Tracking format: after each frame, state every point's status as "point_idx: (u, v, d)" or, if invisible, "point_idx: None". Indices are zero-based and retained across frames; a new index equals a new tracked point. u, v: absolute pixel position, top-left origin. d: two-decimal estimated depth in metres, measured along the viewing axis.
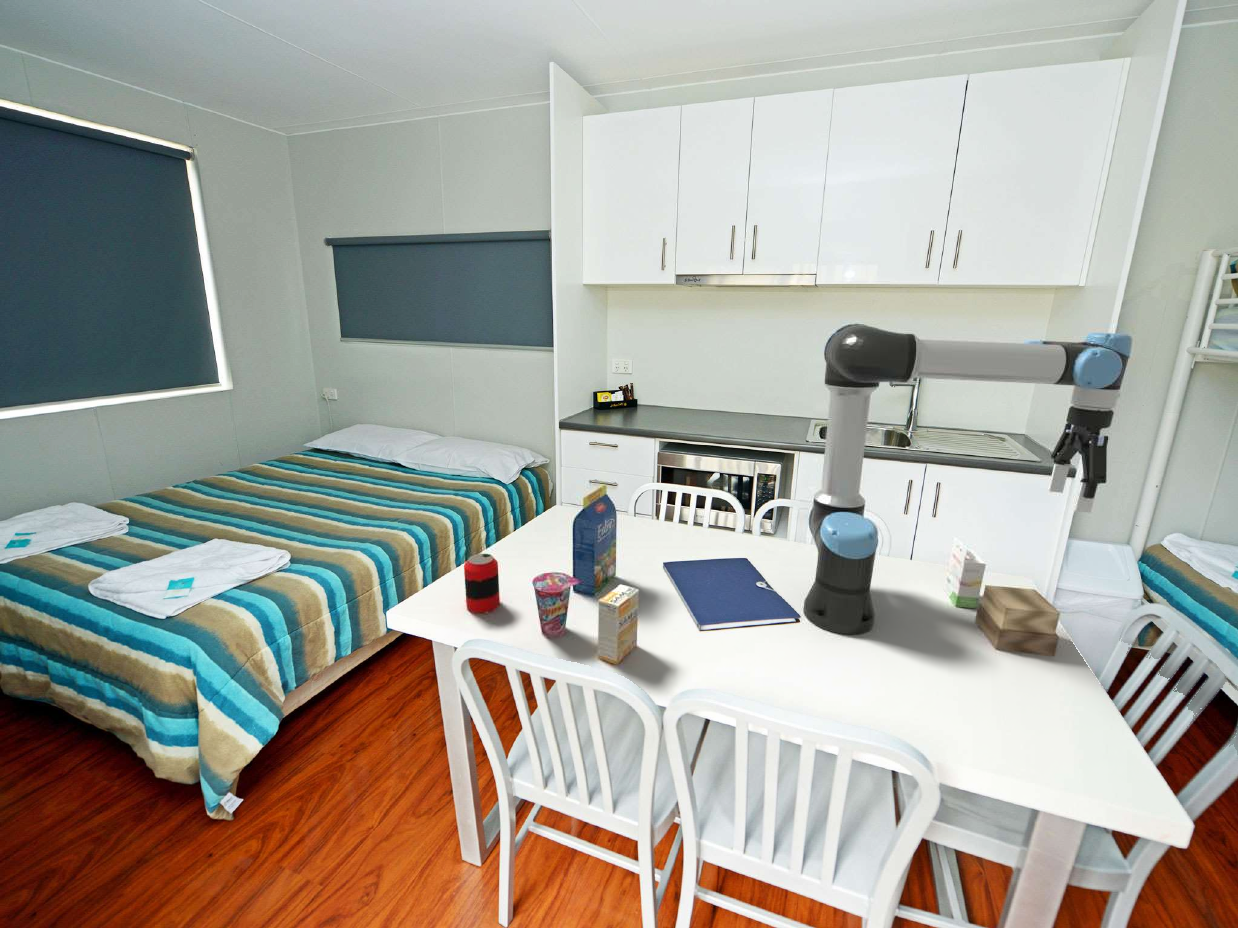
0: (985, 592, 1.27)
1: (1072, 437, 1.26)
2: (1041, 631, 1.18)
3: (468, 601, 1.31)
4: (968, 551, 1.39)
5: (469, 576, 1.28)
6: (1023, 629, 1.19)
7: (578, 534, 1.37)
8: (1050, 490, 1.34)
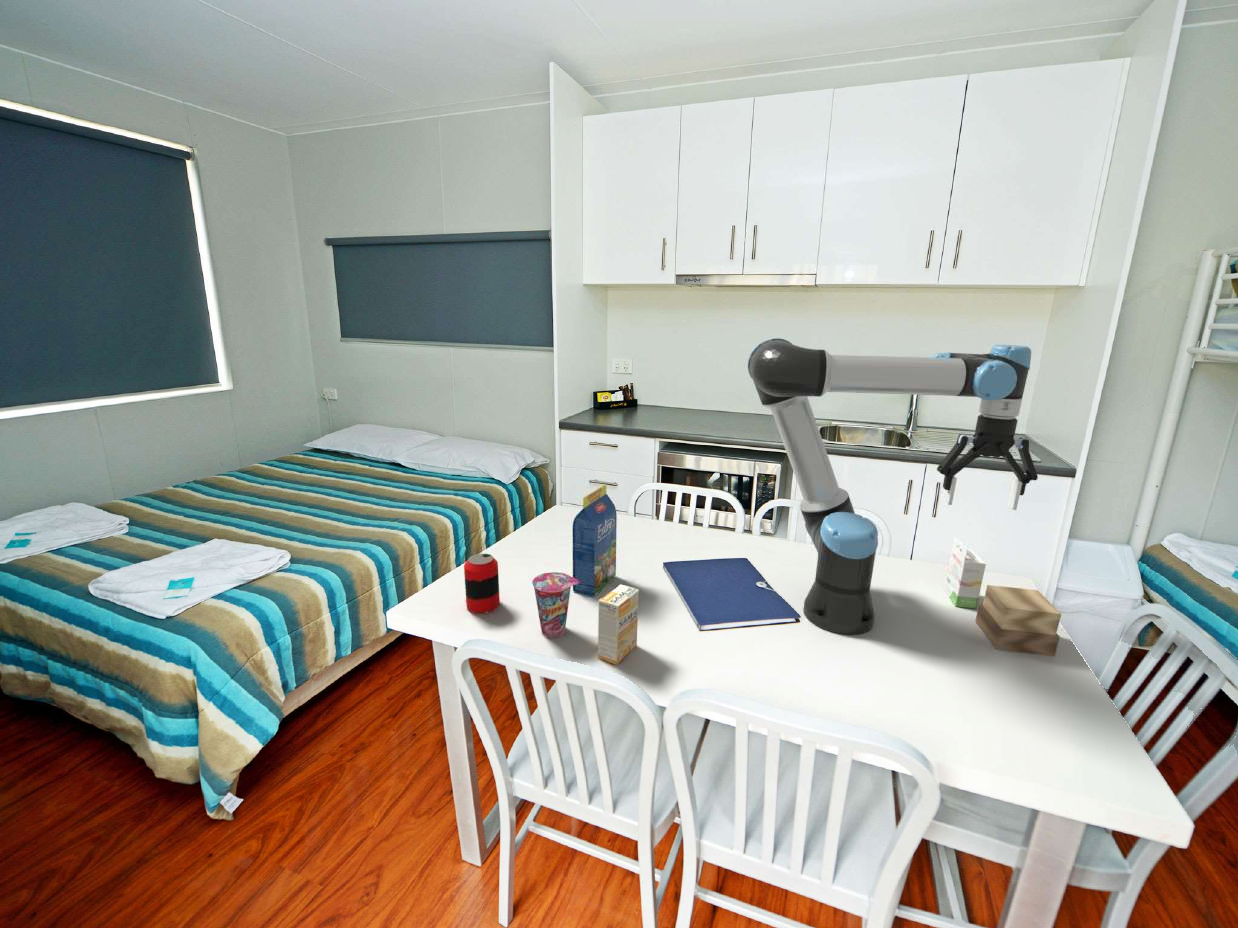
0: (987, 592, 1.27)
1: None
2: (1042, 632, 1.18)
3: (468, 601, 1.31)
4: (968, 551, 1.39)
5: (469, 576, 1.28)
6: (1024, 629, 1.18)
7: (578, 534, 1.37)
8: (1008, 504, 1.33)
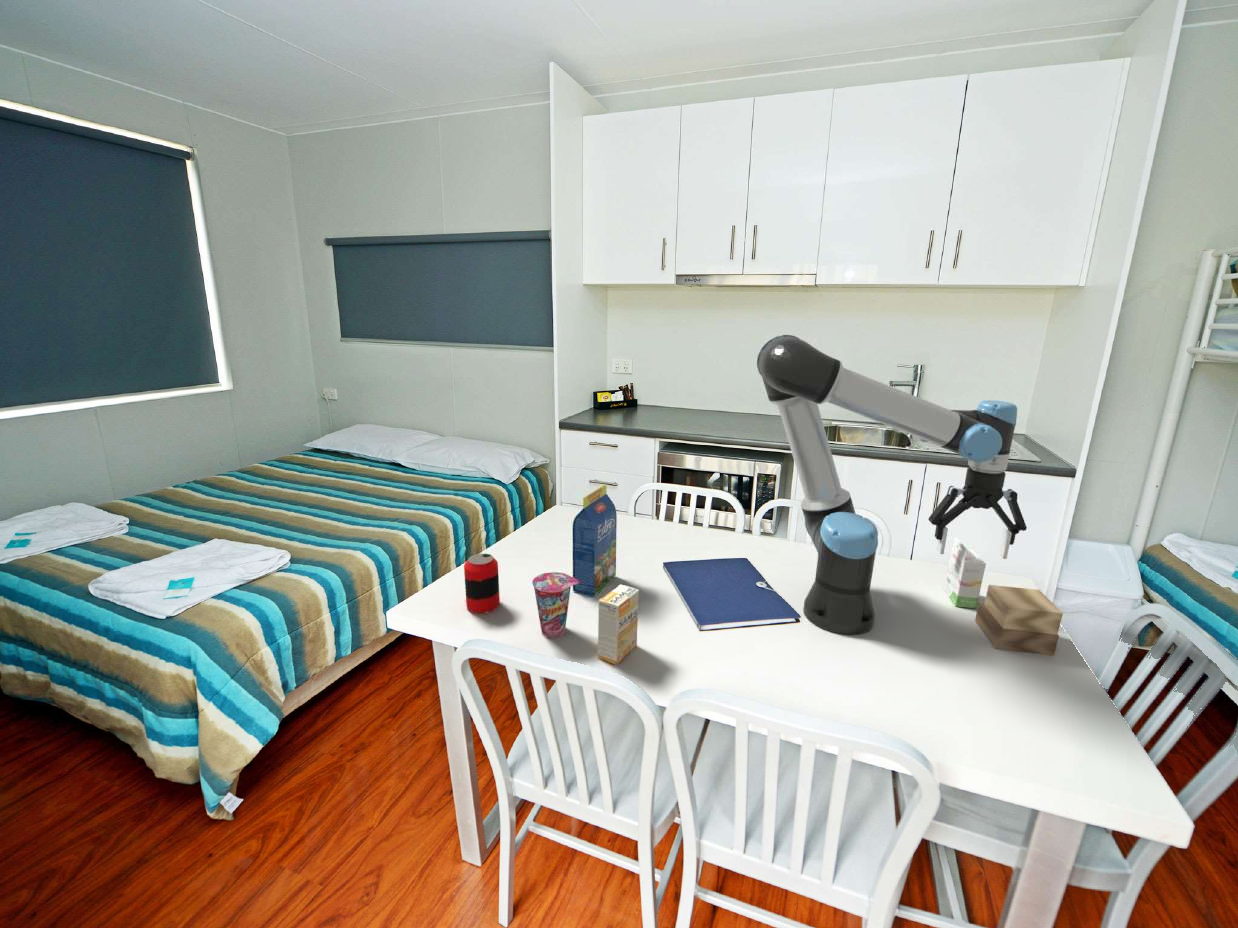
0: (988, 592, 1.27)
1: None
2: (1043, 631, 1.18)
3: (468, 601, 1.31)
4: (968, 551, 1.39)
5: (469, 576, 1.28)
6: (1025, 629, 1.18)
7: (578, 534, 1.37)
8: (998, 553, 1.37)
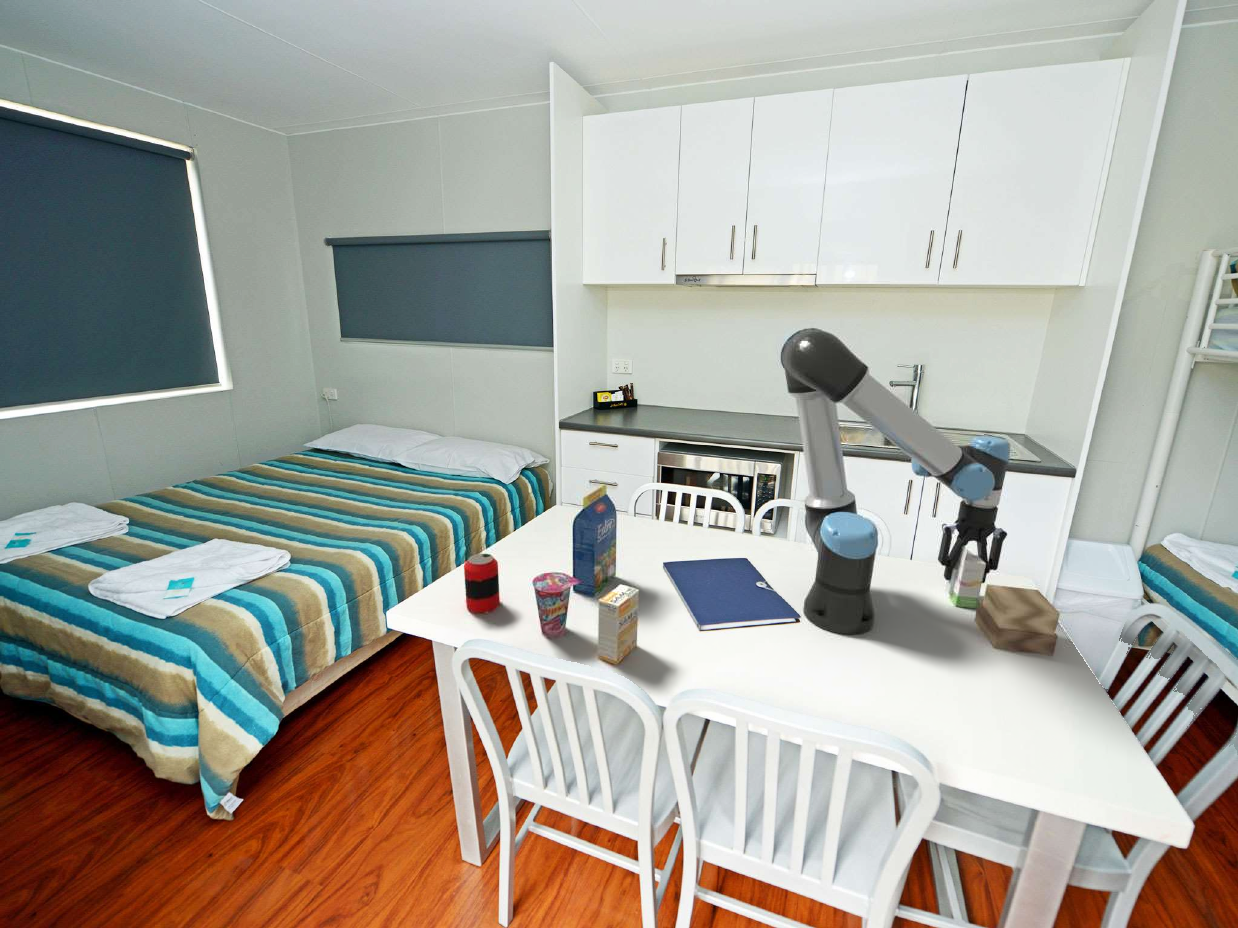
0: (986, 591, 1.27)
1: None
2: (1040, 631, 1.18)
3: (468, 601, 1.31)
4: (968, 551, 1.39)
5: (469, 576, 1.28)
6: (1022, 628, 1.19)
7: (578, 534, 1.37)
8: None
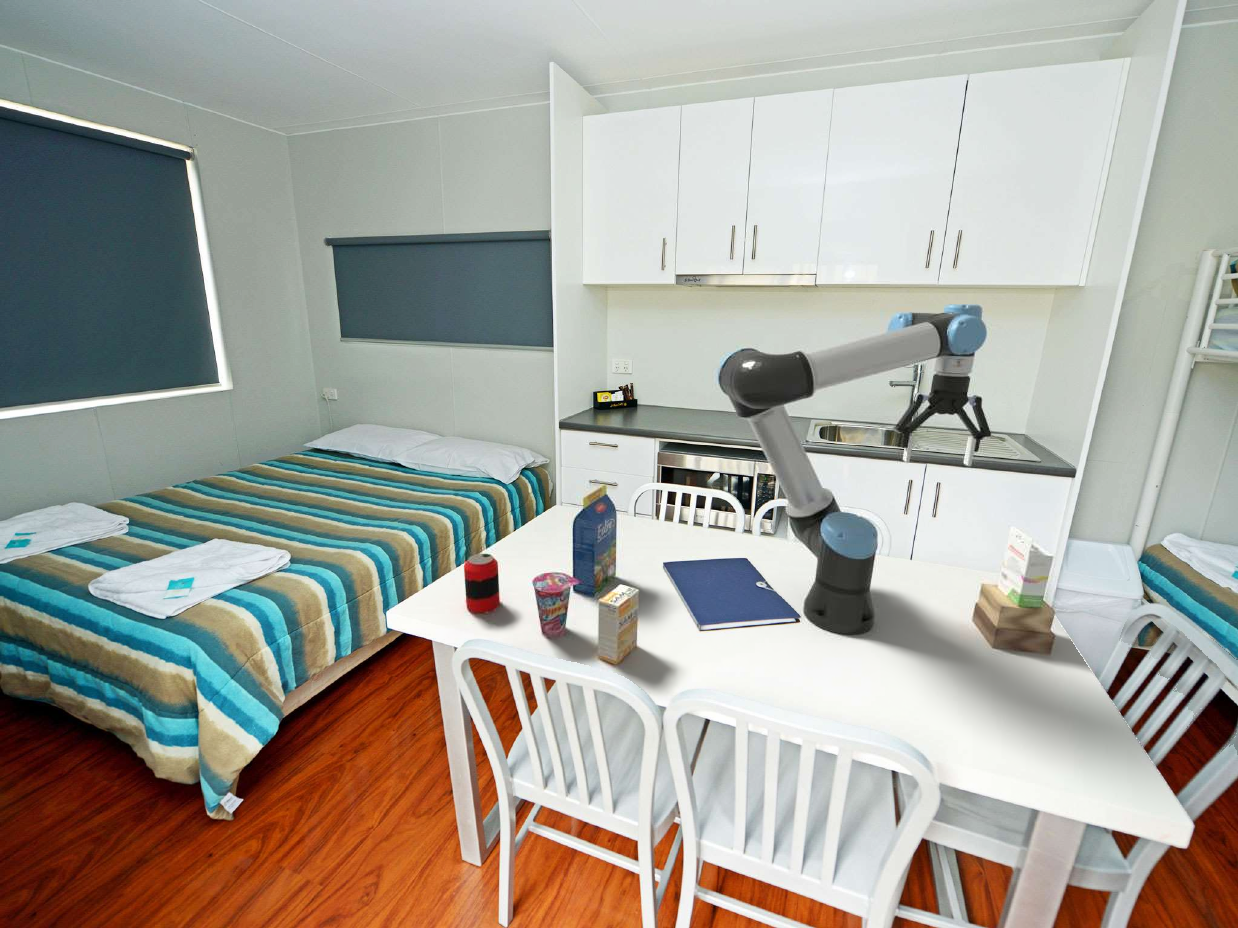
0: (981, 590, 1.28)
1: None
2: (1036, 629, 1.19)
3: (468, 601, 1.31)
4: None
5: (469, 576, 1.28)
6: (1018, 627, 1.19)
7: (578, 534, 1.37)
8: (963, 462, 1.37)
